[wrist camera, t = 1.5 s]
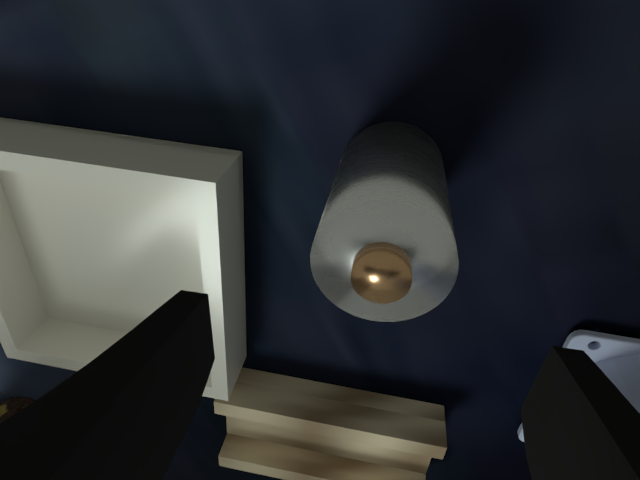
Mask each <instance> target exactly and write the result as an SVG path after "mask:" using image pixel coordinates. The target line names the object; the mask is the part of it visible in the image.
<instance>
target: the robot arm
mask: <svg viewBox="0 0 640 480" xmlns="http://www.w3.org/2000/svg"><path fill="white" fill-rule="evenodd" d="M593 341H596V342H594V343H590V342H593ZM214 360H215V354H214V345H213V336H212V326H211V317H210V308H209V298H208V294H205V293H198V292H192V291H185V290H181V291H179V292H178V293H177V294H175V295H174V296H173V297H172V298H170V299H169V300H168V301H167V302H165V303H164V304H163V305H162V306H160V307H159V308H158V309H157V310H155V311H154V312H153V313H152V314H151V315H149V316H148V317H147V318H146V319H144V320H143V321H142V322H141V323H139V324H138V325H137V326H136V327H135V328H133V329H132V330H131V331H130V332H128V333H127V334H126V335H124V336H123V337H122V338H121V339H119V340H118V341H117V342H115V343H114V344H113V345H112V346H110V347H109V348H108V349H106V350H105V351H104V352H103V353H101V354H100V355H99V356H97V357H96V358H95V359H94V360H92V361H91V362H90V363H88V364H87V365H85V366H84V367H83V368H81V369H80V370H78V371H77V372H76V373H74V374H73V375H71V376H70V377H69V378H67V379H66V380H64V381H63V382H62V383H60V384H59V385H57V386H56V387H55V388H53V389H52V390H51V391H49V392H48V393H46V394H45V395H43V396H42V397H40V398H39V399H37V400H36V401H34V402H33V403H31V404H30V405H28V406H27V407H25V408H24V409H22V410H21V411H19V412H17V413H16V414H14V415H13V416H11V417H10V418H8V419H6V420H5V421H3V422H1V423H0V480H162V479H163V477H164V475H165V473H166V471H167V469H168V467H169V465H170V463H171V461H172V459H173V457H174V455H175V453H176V451H177V449H178V447H179V445H180V443H181V440H182V438H183V436H184V434H185V432H186V430H187V428H188V426H189V424H190V422H191V420H192V418H193V416H194V413H195V411H196V409H197V407H198V405H199V403H200V400H201V398H202V395H203V392H204V389H205V386H206V384H207V381H208V378H209V375H210V372H211V369H212V366H213V363H214ZM521 418H522V423H521V425H520V427H519V429H518V436H519V439H520V440H521V441H523V442H525V449H526V456H527V461H528V465H529V469H530V473H531V477H532V480H640V339H636V338H630V337H624V336H618V335H612V334H606V333H600V332H594V331H588V330H576V331H573V332H572V333H570V334H569V336H568V337H567V339H566V341H565V343H564V345H563V347H556V346H552V347H551V349H550V351H549V353H548V355H547V357H546V359H545V361H544V363H543V365H542V367H541V369H540V371H539V373H538V375H537V377H536V379H535V381H534V383H533V385H532V387H531V389H530V391H529V393H528V395H527V397H526V399H525V401H524V403H523V405H522V407H521Z"/></svg>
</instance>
